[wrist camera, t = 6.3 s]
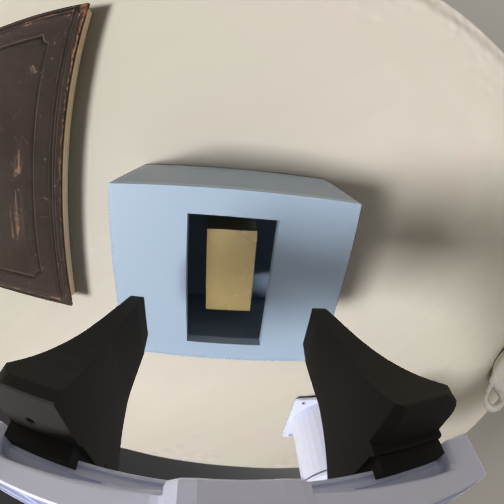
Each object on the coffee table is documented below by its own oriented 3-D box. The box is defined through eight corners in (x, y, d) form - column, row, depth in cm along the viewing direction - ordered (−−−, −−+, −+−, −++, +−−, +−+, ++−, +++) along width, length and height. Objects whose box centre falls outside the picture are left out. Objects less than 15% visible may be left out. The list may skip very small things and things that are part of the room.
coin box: (324, 179, 19) (361, 204, 13) (299, 304, 23) (318, 360, 17) (146, 164, 18) (108, 183, 12) (148, 293, 22) (125, 348, 16)
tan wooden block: (252, 207, 20) (257, 231, 15) (246, 274, 22) (249, 310, 17) (212, 205, 19) (207, 228, 15) (210, 273, 21) (206, 308, 17)
